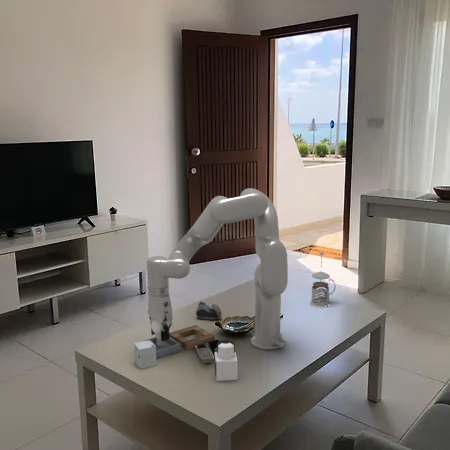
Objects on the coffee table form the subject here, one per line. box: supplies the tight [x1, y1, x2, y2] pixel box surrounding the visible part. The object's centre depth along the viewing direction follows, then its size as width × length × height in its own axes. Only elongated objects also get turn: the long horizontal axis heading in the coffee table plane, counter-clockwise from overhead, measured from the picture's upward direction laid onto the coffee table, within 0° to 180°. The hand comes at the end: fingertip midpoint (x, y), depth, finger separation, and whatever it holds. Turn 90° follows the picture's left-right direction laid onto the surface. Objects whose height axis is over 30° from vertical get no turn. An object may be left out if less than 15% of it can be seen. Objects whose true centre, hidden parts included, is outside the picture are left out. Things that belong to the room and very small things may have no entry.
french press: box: [309, 251, 336, 308], centre depth 230 cm, size 10×12×25 cm
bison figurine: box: [195, 301, 223, 321], centre depth 217 cm, size 12×7×10 cm
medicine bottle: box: [214, 339, 239, 382], centre depth 166 cm, size 7×7×12 cm
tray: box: [140, 336, 182, 361], centre depth 185 cm, size 11×11×3 cm
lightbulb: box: [150, 320, 166, 346], centre depth 184 cm, size 6×6×11 cm
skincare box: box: [133, 339, 157, 370], centre depth 175 cm, size 6×6×7 cm
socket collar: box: [169, 324, 216, 352], centre depth 194 cm, size 13×13×2 cm
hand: (160, 336), depth 185 cm, fingers closed on lightbulb, 6 cm apart
